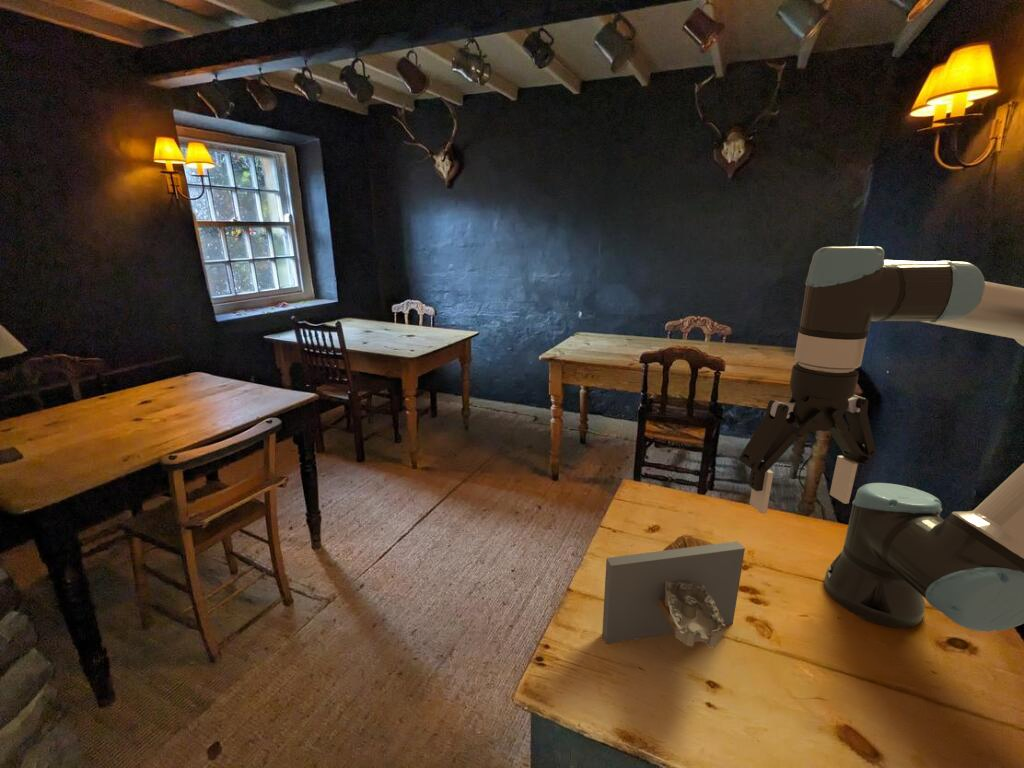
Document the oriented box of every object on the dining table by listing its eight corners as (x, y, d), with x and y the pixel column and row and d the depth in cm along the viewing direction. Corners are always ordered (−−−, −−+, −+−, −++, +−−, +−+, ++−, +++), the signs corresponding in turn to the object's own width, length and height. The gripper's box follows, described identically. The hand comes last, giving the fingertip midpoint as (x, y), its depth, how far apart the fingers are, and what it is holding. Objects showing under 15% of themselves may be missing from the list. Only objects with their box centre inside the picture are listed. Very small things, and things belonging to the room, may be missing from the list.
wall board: (726, 615, 85) (737, 541, 80) (763, 661, 75) (778, 580, 71) (602, 634, 81) (606, 557, 76) (624, 685, 72) (631, 602, 67)
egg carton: (725, 652, 68) (729, 630, 67) (672, 646, 69) (675, 624, 68) (707, 598, 78) (710, 578, 77) (661, 594, 79) (663, 574, 78)
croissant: (706, 543, 105) (709, 524, 104) (725, 563, 99) (728, 543, 98) (652, 551, 103) (654, 532, 101) (668, 572, 97) (670, 551, 95)
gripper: (879, 354, 68) (850, 482, 74) (724, 363, 64) (707, 499, 70) (931, 367, 61) (894, 508, 67) (761, 378, 57) (739, 527, 63)
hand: (799, 503), depth 68 cm, fingers open, 13 cm apart
